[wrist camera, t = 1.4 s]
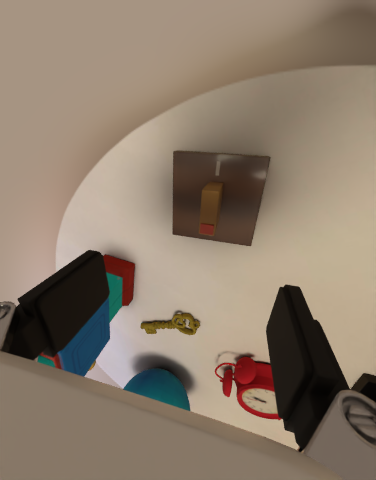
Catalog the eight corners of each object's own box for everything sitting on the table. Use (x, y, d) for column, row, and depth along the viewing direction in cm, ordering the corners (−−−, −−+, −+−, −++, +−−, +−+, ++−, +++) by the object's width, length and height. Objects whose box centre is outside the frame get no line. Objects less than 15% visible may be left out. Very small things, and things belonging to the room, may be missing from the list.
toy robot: (105, 245, 32) (-194, 466, 10) (139, 256, 31) (-105, 521, 9) (106, 295, 37) (-83, 508, 15) (135, 305, 36) (-22, 545, 15)
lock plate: (178, 150, 22) (172, 151, 21) (268, 156, 21) (271, 157, 19) (176, 228, 27) (172, 235, 25) (250, 239, 25) (250, 247, 23)
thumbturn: (209, 181, 21) (201, 190, 17) (223, 182, 21) (219, 192, 17) (205, 218, 23) (197, 234, 19) (218, 220, 23) (213, 237, 19)
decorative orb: (184, 353, 39) (156, 457, 26) (205, 396, 44) (190, 502, 31) (125, 351, 44) (76, 438, 31) (150, 391, 50) (117, 479, 37)
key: (144, 336, 38) (134, 317, 36) (147, 331, 39) (137, 312, 37) (202, 336, 34) (194, 315, 32) (203, 330, 35) (196, 309, 33)
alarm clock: (277, 427, 36) (205, 411, 33) (266, 388, 41) (204, 371, 38) (318, 409, 31) (238, 388, 28) (300, 366, 36) (231, 345, 33)
